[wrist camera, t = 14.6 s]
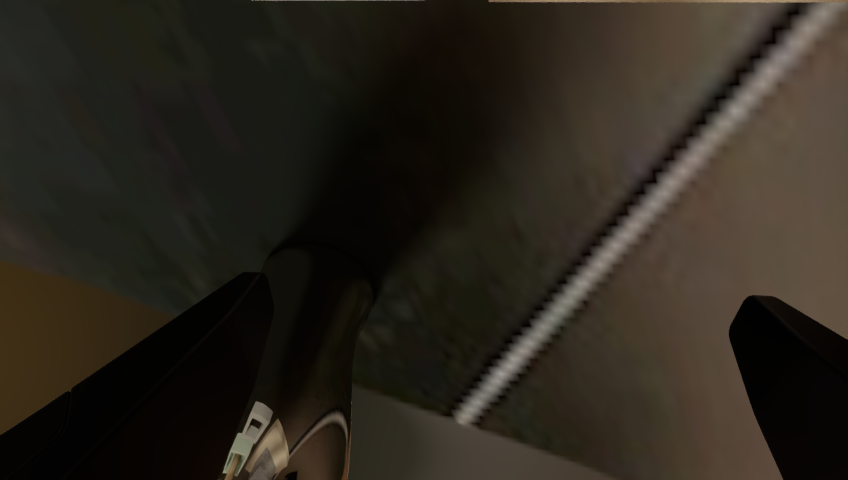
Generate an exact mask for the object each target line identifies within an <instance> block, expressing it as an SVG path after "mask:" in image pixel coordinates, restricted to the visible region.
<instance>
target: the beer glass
mask: <svg viewBox="0 0 848 480" xmlns="http://www.w3.org/2000/svg"><path fill="white" fill-rule="evenodd" d="M260 273H264V274H265V275H266V276H267V279H268V282H269V286H270V290H271V294H272V299H273V303H274V315H273V319H272V323H271V327H270V330H269V334H268V338H267V342H266V345H265V349H264V353H263V357H262V360H261V364H260V368H259V372H258V375H257V379H256V382H255V386H254V388H253V391H252V394H251V397H250V399H249V402H248V404H247V407H246V409H245V412H244V414H243V417H242V419H241V422H240V424H239V427H238V430H237V432H236V435H235V437H234V440H233V442H232V445H231V447H230V450H229V452H228V455H227V457H226V460H225V462H224V465H223V468H222V470H221V473H220V475H219V478H218V480H347V477H348V469H349V456H350V442H351V411H352V367H353V357H354V351H355V347H356V343H357V340H358V337H359V335H360V332H361V330H362V328H363V326H364V324H365V322H366V320H367V318H368V316H369V314H370V312H371V309H372V306H373V303H374V288H373V284H372V281H371V279H370V277H369V275H368V273H367V272H366V271H365V269H364V268H363V267H362V266H361V265H360V264H359V263H358V262H357V261H356V260H354V259H353V258H352V257H350V256H349V255H347V254H345V253H344V252H342V251H339V250H337V249H335V248H332V247H329V246H325V245H320V244H310V243H305V244H295V245H291V246H288V247H285V248H282V249H280V250H279V251H277V252H275V253H274V254H273V255H272V256H271V257H270V258H269V259H268V260H267V261H266V262H265V264H264V265H263V267H262V270H261V272H260Z"/></svg>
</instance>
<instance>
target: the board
mask: <svg viewBox="0 0 848 480" xmlns="http://www.w3.org/2000/svg"><path fill="white" fill-rule="evenodd" d="M488 1H489V2H848V0H488Z"/></svg>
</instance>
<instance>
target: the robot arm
mask: <svg viewBox="0 0 848 480" xmlns="http://www.w3.org/2000/svg"><path fill="white" fill-rule="evenodd" d="M273 315H274V303H273V299H272V294H271V290H270V286H269V282H268V279H267V276H266V275H265V274H264V273H259V272H243V273H241V274H239V275H238V276H237V277H235V278H234V279H232V280H231V281H229V282H228V283H226V284H225V285H223V286H222V287H220V288H219V289H217V290H216V291H214V292H213V293H211V294H210V295H208V296H207V297H206V298H204V299H203V300H201V301H200V302H198V303H197V304H195V305H194V306H192V307H191V308H189V309H188V310H186V311H185V312H183V313H182V314H180V315H179V316H177V317H176V318H175V319H173V320H172V321H170V322H169V323H167V324H166V325H164V326H163V327H161V328H160V329H158V330H157V331H155V332H154V333H152V334H151V335H149V336H148V337H147V338H145V339H144V340H142V341H141V342H139V343H138V344H136V345H135V346H133V347H132V348H130V349H129V350H127V351H126V352H124V353H123V354H121V355H120V356H119V357H117V358H116V359H114V360H112V361H111V362H110V363H108V364H107V365H105V366H104V367H102V368H101V369H100V370H98V371H96V372H95V373H93V374H92V375H90V376H89V377H88V378H86V379H84V380H83V381H81V382H80V383H78V384H77V385H76V386H74V387H73V388H72V389H71V392H69V391H67V392H65V393H64V394H62V395H61V396H59V397H58V398H56V399H55V400H53V401H52V402H50V403H49V404H47V405H46V406H44V407H43V408H41V409H40V410H38V411H37V412H35V413H34V414H32V415H31V416H29V417H28V418H26V419H25V420H23V421H21V422H20V423H18V424H17V425H15V426H14V427H12V428H11V429H9V430H8V431H6V432H4V433H3V434H1V435H0V480H218V478H219V475H220V473H221V470H222V468H223V465H224V462H225V460H226V457H227V455H228V452H229V450H230V447H231V445H232V442H233V440H234V437H235V435H236V432H237V430H238V427H239V424H240V422H241V419H242V417H243V414H244V412H245V409H246V407H247V404H248V402H249V399H250V397H251V394H252V391H253V388H254V386H255V382H256V379H257V375H258V372H259V368H260V364H261V360H262V357H263V353H264V349H265V345H266V342H267V338H268V334H269V330H270V327H271V323H272V319H273ZM729 338H730V342H731V345H732V348H733V351H734V355H735V358H736V361H737V364H738V367H739V370H740V373H741V376H742V379H743V382H744V385H745V388H746V391H747V395H748V398H749V401H750V404H751V406H752V409H753V412H754V415H755V417H756V419H757V422H758V424H759V426H760V429H761V431H762V433H763V435H764V438H765V440H766V442H767V444H768V447H769V449H770V451H771V453H772V455H773V458H774V460H775V462H776V464H777V467H778V469H779V471H780V473H781V475H782V478H783V480H848V340H847V339H845V338H844V337H842V336H840V335H839V334H837V333H835V332H834V331H832V330H830V329H828V328H827V327H825V326H823V325H822V324H820V323H818V322H817V321H815V320H813V319H812V318H810V317H808V316H807V315H805V314H803V313H802V312H800V311H798V310H797V309H795V308H793V307H791V306H790V305H788V304H786V303H785V302H783V301H781V300H780V299H778V298H776V297H773V296H760V295H752V296H748V297H747V298H746V299H745V300H744V301H743V303H742V305H741V307H740V309H739V310H738V312H737V314H736V316H735V318H734V320H733V322H732V323H731V325H730V329H729Z"/></svg>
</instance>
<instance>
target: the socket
mask: <svg viewBox="0 0 848 480" xmlns="http://www.w3.org/2000/svg"><path fill="white" fill-rule="evenodd" d="M268 1H425V0H268Z"/></svg>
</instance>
